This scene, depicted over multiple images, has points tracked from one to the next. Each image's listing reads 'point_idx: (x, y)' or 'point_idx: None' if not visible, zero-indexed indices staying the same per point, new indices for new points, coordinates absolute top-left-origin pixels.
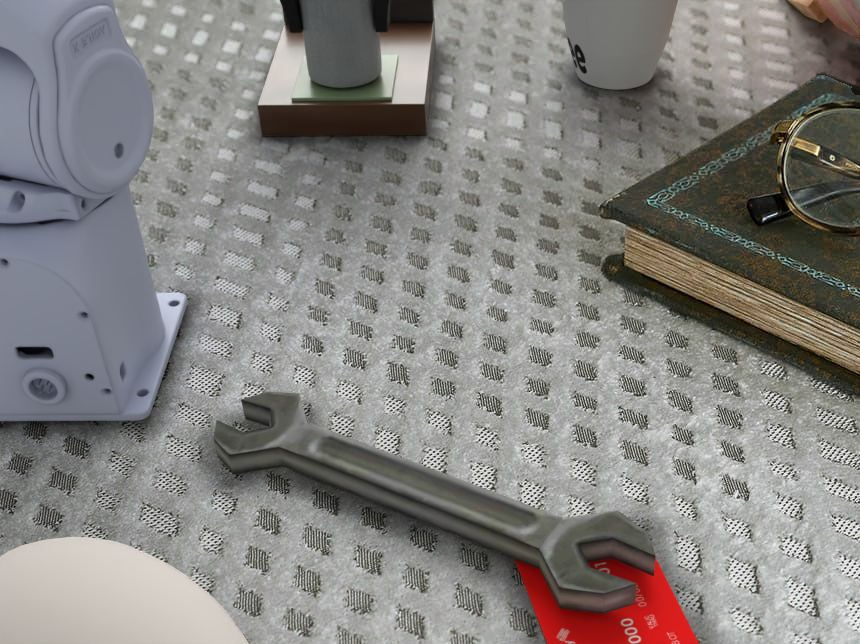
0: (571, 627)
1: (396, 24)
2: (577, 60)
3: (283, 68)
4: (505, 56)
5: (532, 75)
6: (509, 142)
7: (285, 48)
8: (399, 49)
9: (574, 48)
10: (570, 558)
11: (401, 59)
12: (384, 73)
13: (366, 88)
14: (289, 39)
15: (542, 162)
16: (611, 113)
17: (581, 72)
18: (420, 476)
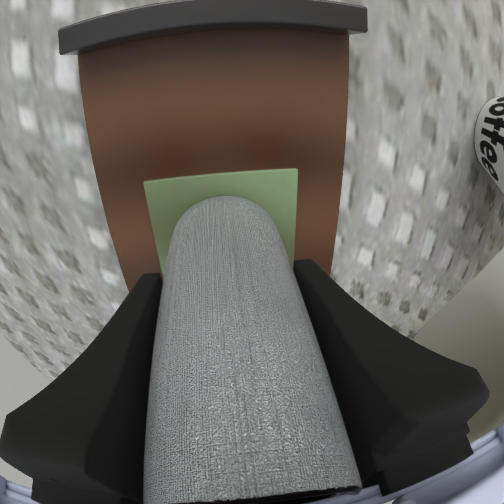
0: None
1: (285, 38)
2: (486, 161)
3: (125, 217)
4: (419, 67)
5: (439, 126)
6: (390, 268)
7: (104, 148)
8: (297, 137)
9: (493, 168)
10: None
11: (301, 174)
12: (280, 231)
13: None
14: (100, 114)
15: (404, 293)
16: (474, 213)
17: (480, 156)
18: None
